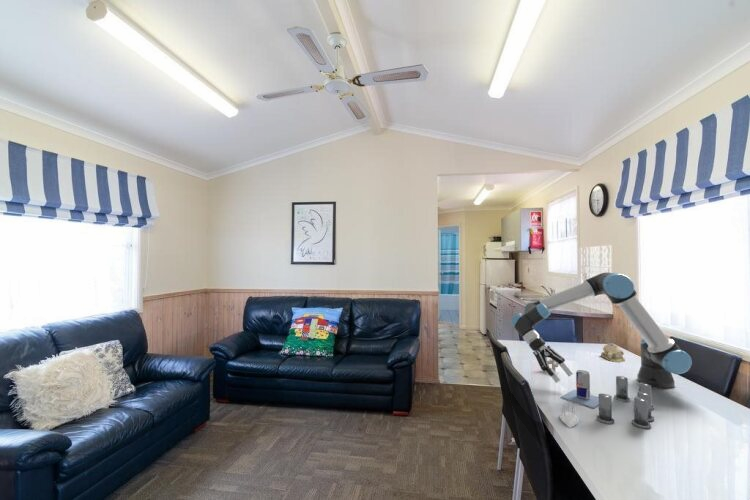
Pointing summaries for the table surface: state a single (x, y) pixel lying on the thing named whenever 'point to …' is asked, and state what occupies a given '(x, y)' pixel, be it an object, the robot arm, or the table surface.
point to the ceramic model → (613, 353)
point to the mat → (572, 397)
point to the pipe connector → (553, 364)
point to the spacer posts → (640, 402)
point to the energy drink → (583, 384)
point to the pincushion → (569, 418)
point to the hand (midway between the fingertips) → (565, 378)
